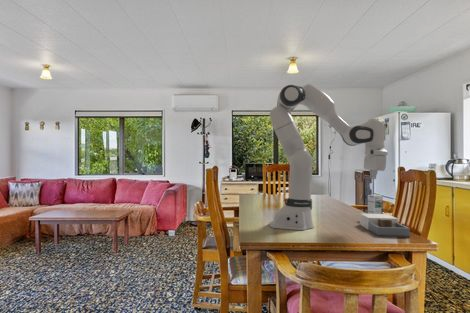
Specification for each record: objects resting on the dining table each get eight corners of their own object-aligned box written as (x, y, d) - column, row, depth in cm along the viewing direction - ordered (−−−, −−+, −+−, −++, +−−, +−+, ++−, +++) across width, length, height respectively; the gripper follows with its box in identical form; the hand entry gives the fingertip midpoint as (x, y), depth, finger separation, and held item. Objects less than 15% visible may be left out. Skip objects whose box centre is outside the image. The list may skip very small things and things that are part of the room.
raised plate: (368, 230, 154) (368, 217, 154) (360, 224, 166) (360, 213, 166) (397, 230, 153) (397, 218, 153) (387, 225, 165) (387, 214, 165)
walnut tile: (378, 228, 154) (380, 230, 151) (378, 218, 154) (381, 219, 151) (388, 229, 153) (391, 230, 150) (389, 218, 153) (391, 220, 150)
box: (377, 236, 142) (378, 227, 142) (368, 230, 154) (368, 221, 154) (409, 237, 141) (409, 228, 141) (397, 230, 153) (397, 222, 153)
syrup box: (374, 221, 176) (374, 195, 176) (367, 219, 182) (367, 194, 181) (382, 220, 177) (383, 195, 177) (375, 218, 183) (375, 194, 183)
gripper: (361, 151, 169) (360, 177, 169) (375, 151, 149) (374, 180, 149) (373, 152, 169) (372, 177, 169) (389, 151, 148) (387, 180, 148)
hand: (373, 178), depth 159 cm, fingers closed
